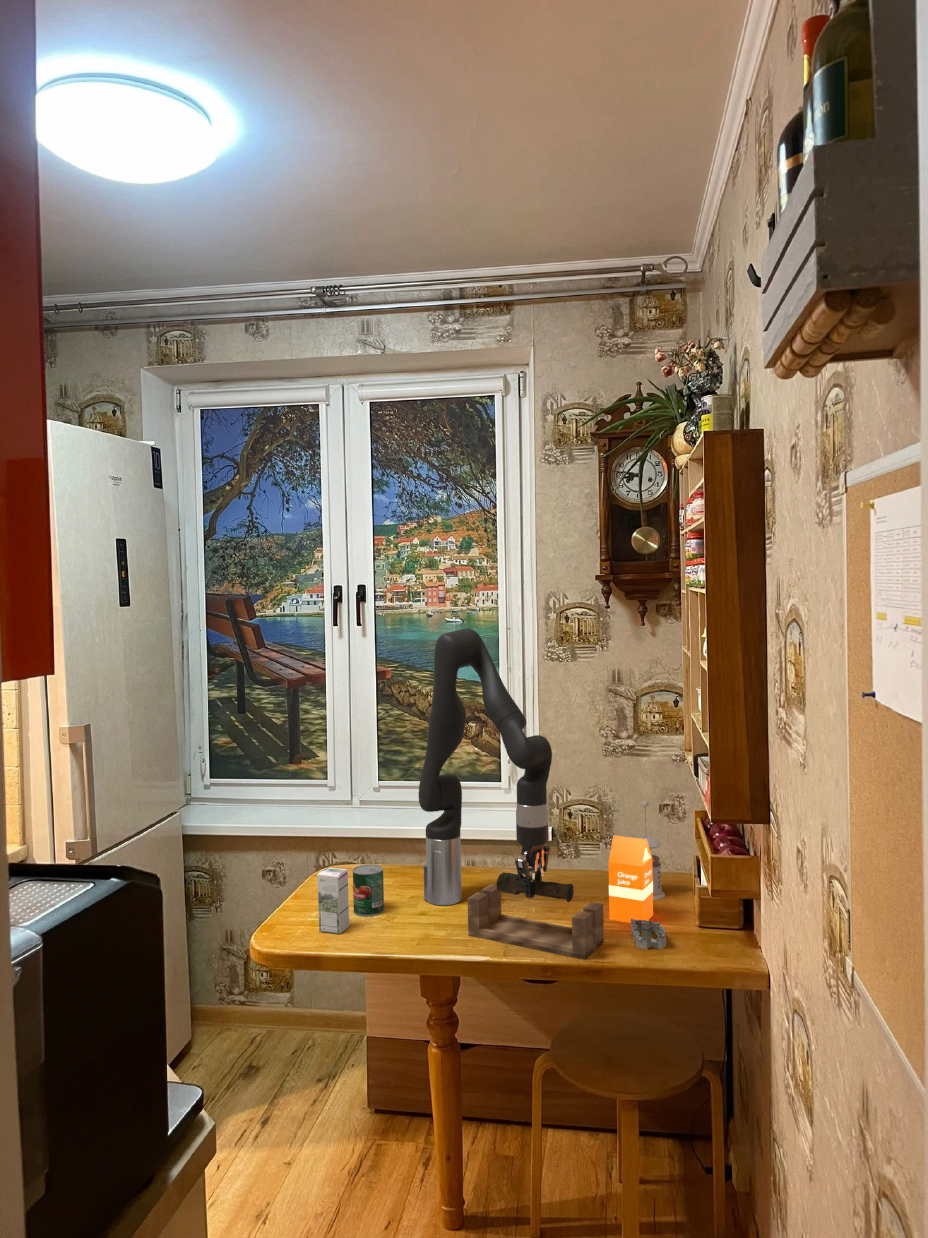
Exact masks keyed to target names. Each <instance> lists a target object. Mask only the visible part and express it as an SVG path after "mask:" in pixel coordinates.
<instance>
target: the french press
mask: <svg viewBox="0 0 928 1238" xmlns="http://www.w3.org/2000/svg"><path fill="white" fill-rule="evenodd" d="M649 803H650V802H648V801H646V800H644V801H642V802H641V806H643V807H644V833H645V835H644V836H643V835H642V836H638V837H637V838H638V839H646V840H647V843H648V846H649V850H653V849H657V848H659V847H661V845H662V843H661V841H659V840H658V839H656V838H653V837H652V836H651V837H650V836H647V813H646V812H647V810H646V808H647V807H649V806H650V805H649ZM651 857H652V875H653V901H656V900H657V901H658V900H661V899H663V898H664V897H665V896H666V893H665V892H664V891H663V890H662V863H661V862H660V859H661V858H660V857H659V856H657V855H655V854H651Z"/></svg>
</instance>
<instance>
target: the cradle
mask: <svg viewBox="0 0 928 1238" xmlns="http://www.w3.org/2000/svg"><path fill="white" fill-rule="evenodd" d="M604 918H605V917H604V903H599V902H594V901H591V902H589V903H588V904H586V906H584V907H583V910H579V911H578V912H577V913H576V914H574V915H573V916H571V927H570V926H564V925H559V924H554V923H550V922H549V923H548V922H545V921H538V920H533V919H528V918H525V917H524V918H523V917H519V916H518V917H517V916H512V915H507V914H503V913H502V891H500V890H498V889H497V885H496V884H489V885H487V886H485V887H483V888H482V889H480V892H479V891H477V892H475V893H473V894H472V895H470V896H469V897H467V926H468V927H467V931H468V933H467V934H468V936H470V937H474V938H479V939H484V940H490V941H494V942H498V943H503V944H509V945H513V946H517V947H521V948H527V949H531V950H537V951H542V952H545V953H550V954H551V953H552V954H556V955H561V956H566V957H569V958H575V959H578V960H585V961H586V959H588V958H589V957H590V956H591V955H592V954H593V953H594V952H595V951H596V950H598V948H600V947H601V946H602V945H603V944H604V943H605V934H604V933H605V931H604V927H605V925H604V921H605V920H604Z"/></svg>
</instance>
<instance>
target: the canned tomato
mask: <svg viewBox="0 0 928 1238" xmlns="http://www.w3.org/2000/svg"><path fill="white" fill-rule="evenodd" d="M384 885H385V884H384V867H383V866H381V865H378V864H372V863H371V864H369V863H368V864H362V865H357V866H355V867H354V868H353V869H352V895H353V898H352V899H353V914H354V915H355V916H359V917H365V918H366V917H375V916H378V915H381V914H382V913H384V912H385V896H384V891H385V889H384V887H385V886H384Z"/></svg>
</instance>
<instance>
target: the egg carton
mask: <svg viewBox="0 0 928 1238" xmlns="http://www.w3.org/2000/svg"><path fill="white" fill-rule="evenodd" d="M630 927H631V929H630V930H631V936H632V937H633V941H634V942H635V945H636V946H635V947H636V948H640V949H642V950H648V949H650V948H655V949H657V950H662V949H664V948H666V947H667V937H666V935H667V931H666V929H665V928H664V926H663V925H661V924H660V922H659V921H658V920H657V921H655V922H653V921H652V920H651V919H649V920H648V921H646V920H640V919H639V920H635V919H632V918H631V923H630ZM653 933H654V934H656V938H653ZM641 934H642V935H641Z"/></svg>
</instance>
